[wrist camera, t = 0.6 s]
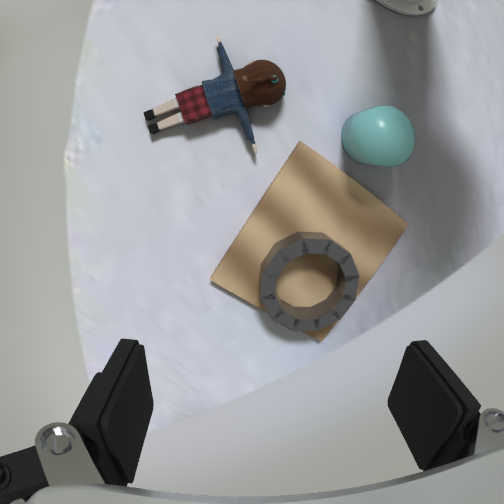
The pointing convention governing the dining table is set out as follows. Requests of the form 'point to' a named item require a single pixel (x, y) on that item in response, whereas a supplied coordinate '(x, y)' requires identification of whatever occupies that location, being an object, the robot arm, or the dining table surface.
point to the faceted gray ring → (323, 310)
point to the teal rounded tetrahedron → (379, 136)
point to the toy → (225, 95)
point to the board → (309, 220)
